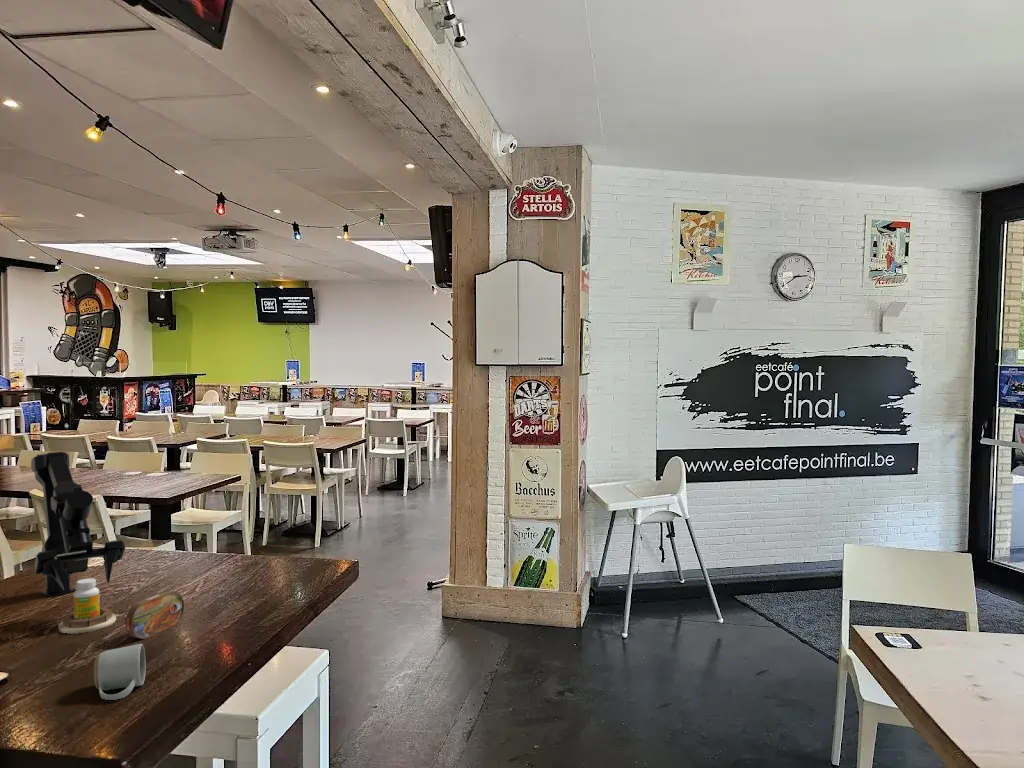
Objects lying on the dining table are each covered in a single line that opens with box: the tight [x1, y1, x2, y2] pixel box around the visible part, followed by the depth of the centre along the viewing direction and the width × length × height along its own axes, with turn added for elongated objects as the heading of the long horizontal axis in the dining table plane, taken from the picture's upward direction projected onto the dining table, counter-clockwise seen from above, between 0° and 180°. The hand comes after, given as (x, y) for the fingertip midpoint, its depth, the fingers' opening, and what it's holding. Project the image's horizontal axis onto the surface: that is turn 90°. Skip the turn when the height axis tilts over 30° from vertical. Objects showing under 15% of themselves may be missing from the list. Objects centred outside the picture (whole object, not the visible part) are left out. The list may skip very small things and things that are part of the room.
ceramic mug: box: [93, 643, 147, 701], centre depth 137 cm, size 11×8×8 cm
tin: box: [125, 591, 185, 640], centre depth 167 cm, size 15×3×8 cm, turn 160°
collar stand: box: [58, 606, 117, 635], centre depth 172 cm, size 12×12×2 cm
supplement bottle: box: [73, 577, 101, 620], centre depth 172 cm, size 5×5×10 cm
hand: (87, 585), depth 172 cm, fingers open, 9 cm apart
